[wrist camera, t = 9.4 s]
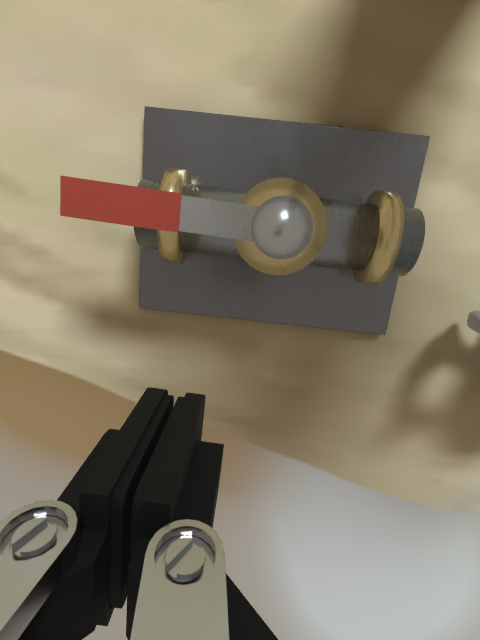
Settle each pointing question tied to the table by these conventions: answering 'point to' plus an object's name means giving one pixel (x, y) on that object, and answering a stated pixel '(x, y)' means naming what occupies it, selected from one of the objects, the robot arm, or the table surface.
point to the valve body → (291, 180)
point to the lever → (192, 214)
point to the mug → (474, 321)
